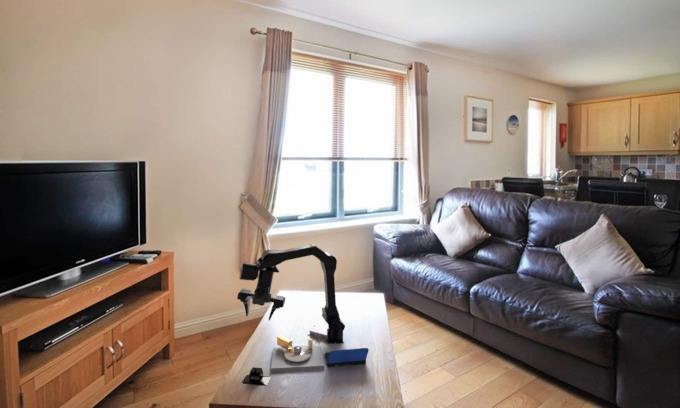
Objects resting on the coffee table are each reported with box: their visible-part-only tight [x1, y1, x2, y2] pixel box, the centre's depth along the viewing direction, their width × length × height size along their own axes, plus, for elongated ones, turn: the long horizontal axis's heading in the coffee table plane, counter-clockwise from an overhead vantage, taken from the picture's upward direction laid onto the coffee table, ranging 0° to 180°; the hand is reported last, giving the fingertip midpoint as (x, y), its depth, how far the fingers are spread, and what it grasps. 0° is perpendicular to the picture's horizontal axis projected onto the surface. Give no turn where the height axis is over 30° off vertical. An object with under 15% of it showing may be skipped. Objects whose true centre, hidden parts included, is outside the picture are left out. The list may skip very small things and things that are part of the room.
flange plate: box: [276, 334, 311, 363], centre depth 147 cm, size 14×14×5 cm
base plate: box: [270, 338, 325, 373], centre depth 146 cm, size 20×15×6 cm
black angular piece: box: [241, 366, 271, 387], centre depth 133 cm, size 12×7×5 cm, turn 84°
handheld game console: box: [324, 347, 370, 368], centre depth 145 cm, size 16×13×9 cm
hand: (258, 318), depth 150 cm, fingers open, 9 cm apart
